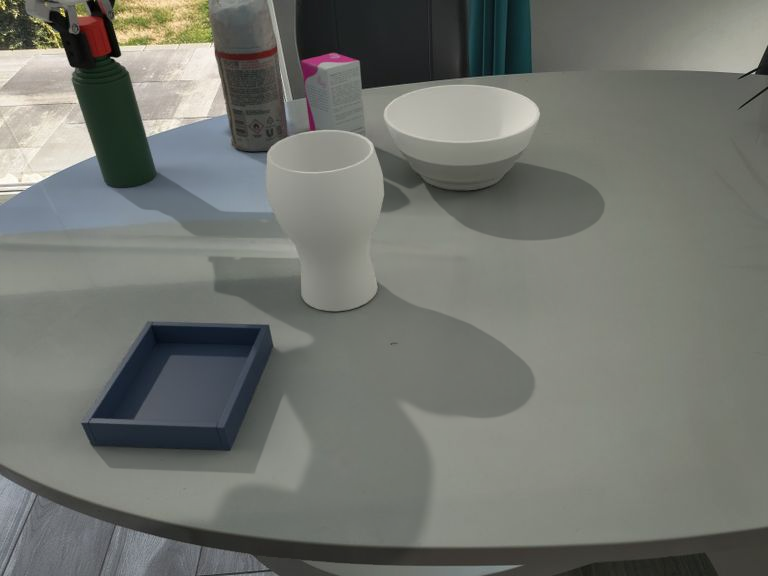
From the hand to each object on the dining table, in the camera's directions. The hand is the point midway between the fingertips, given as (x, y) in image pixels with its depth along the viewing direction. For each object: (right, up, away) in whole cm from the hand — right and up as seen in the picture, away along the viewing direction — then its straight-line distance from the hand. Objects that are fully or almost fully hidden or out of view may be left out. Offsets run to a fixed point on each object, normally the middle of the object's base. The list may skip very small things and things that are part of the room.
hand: (96, 60), depth 86 cm
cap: (0, +1, -1) cm, 1 cm away
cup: (+31, -28, -11) cm, 43 cm away
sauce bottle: (0, -12, +9) cm, 15 cm away
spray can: (+15, -5, +18) cm, 24 cm away
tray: (+20, -38, -24) cm, 49 cm away
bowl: (+43, -11, +10) cm, 46 cm away
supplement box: (+26, -5, +18) cm, 31 cm away
